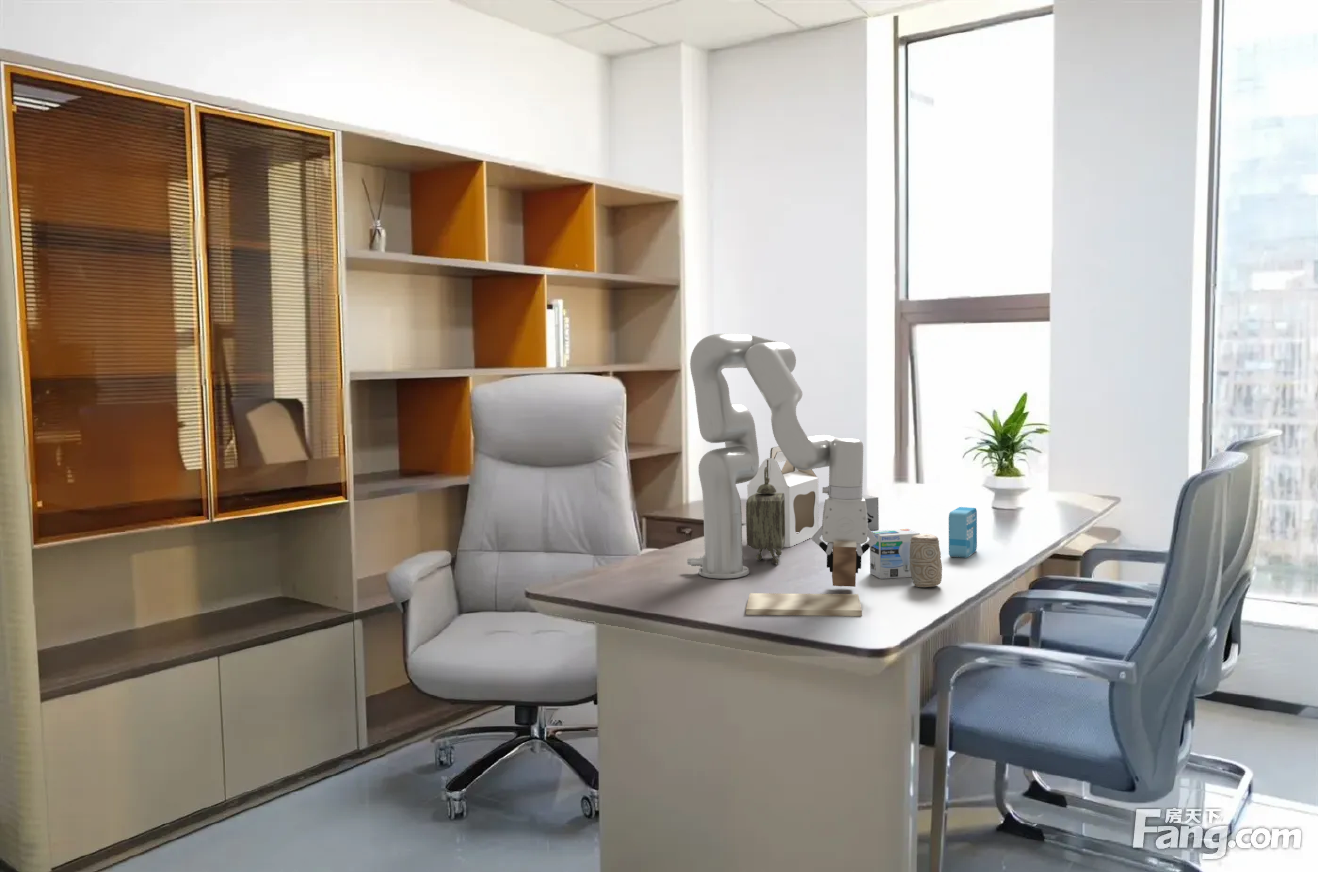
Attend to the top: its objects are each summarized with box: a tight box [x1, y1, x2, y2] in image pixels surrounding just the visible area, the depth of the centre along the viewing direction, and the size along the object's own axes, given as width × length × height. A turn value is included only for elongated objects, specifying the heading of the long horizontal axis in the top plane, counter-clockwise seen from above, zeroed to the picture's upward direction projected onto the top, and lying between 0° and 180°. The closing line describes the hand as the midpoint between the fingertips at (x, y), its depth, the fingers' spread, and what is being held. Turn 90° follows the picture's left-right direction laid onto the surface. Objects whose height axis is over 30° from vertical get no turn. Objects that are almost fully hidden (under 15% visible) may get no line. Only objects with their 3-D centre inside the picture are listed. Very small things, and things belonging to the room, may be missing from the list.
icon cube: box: [862, 494, 880, 531], centre depth 307 cm, size 10×10×10 cm
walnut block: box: [831, 541, 857, 587], centre depth 227 cm, size 5×9×10 cm, turn 172°
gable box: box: [746, 446, 820, 548], centre depth 292 cm, size 22×13×28 cm, turn 149°
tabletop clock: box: [745, 467, 785, 565], centre depth 263 cm, size 14×9×25 cm, turn 168°
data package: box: [948, 506, 978, 559], centre depth 265 cm, size 12×4×12 cm, turn 149°
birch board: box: [745, 592, 863, 617], centre depth 214 cm, size 24×14×1 cm, turn 81°
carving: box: [909, 533, 943, 588], centre depth 229 cm, size 6×8×12 cm
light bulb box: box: [869, 528, 921, 580], centre depth 242 cm, size 11×7×11 cm, turn 101°
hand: (843, 570), depth 227 cm, fingers closed on walnut block, 5 cm apart
